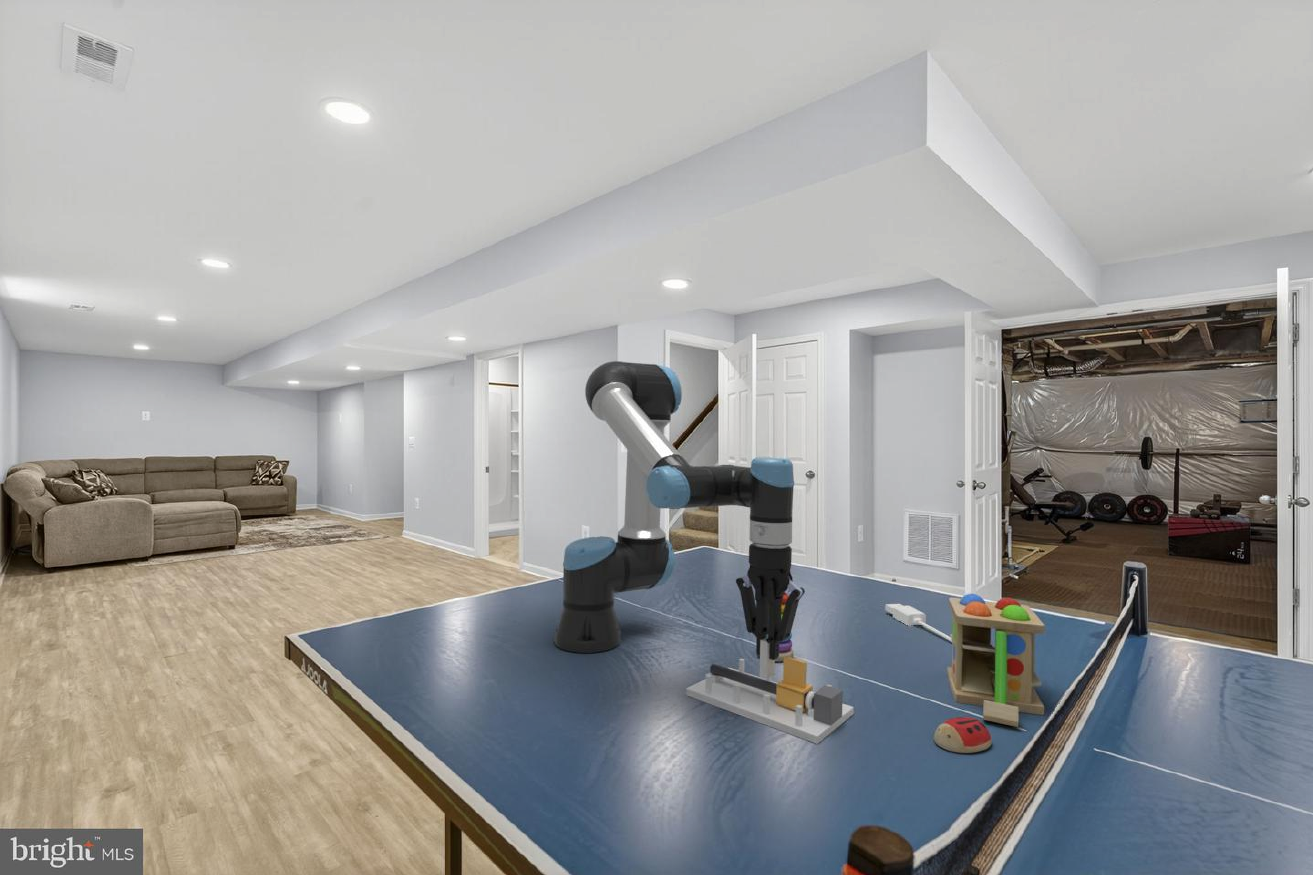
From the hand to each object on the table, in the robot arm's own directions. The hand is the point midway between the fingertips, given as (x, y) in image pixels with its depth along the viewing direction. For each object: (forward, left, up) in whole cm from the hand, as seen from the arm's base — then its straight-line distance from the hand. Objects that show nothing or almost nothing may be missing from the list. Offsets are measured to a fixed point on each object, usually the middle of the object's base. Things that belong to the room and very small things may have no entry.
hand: (767, 675), depth 108 cm
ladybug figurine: (+30, +9, -6) cm, 32 cm away
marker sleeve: (+6, 0, -4) cm, 7 cm away
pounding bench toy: (+31, +30, -5) cm, 43 cm away
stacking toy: (-11, +22, -5) cm, 25 cm away
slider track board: (0, 0, -5) cm, 5 cm away
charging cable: (+9, +64, -6) cm, 65 cm away
